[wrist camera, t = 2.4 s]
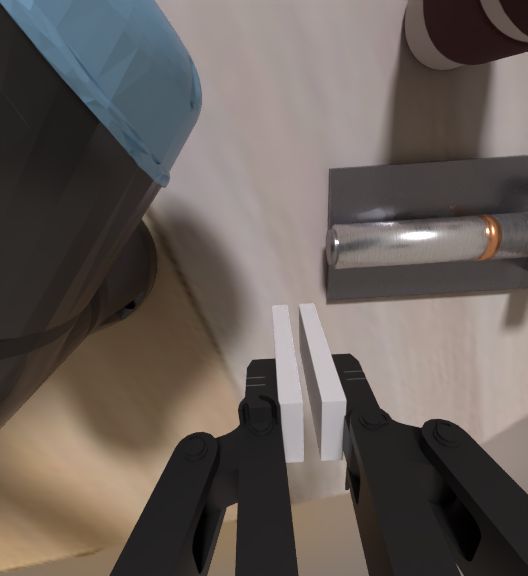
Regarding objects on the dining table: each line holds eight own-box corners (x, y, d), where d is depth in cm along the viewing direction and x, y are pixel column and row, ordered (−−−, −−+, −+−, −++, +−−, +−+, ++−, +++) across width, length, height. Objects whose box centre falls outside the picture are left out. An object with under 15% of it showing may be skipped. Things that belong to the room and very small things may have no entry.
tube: (324, 261, 30) (333, 276, 27) (325, 220, 29) (334, 230, 25) (512, 249, 30) (547, 263, 26) (524, 207, 28) (563, 216, 25)
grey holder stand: (326, 295, 33) (343, 334, 26) (329, 168, 28) (352, 175, 21) (624, 277, 33) (723, 312, 26) (686, 144, 27) (833, 142, 20)
